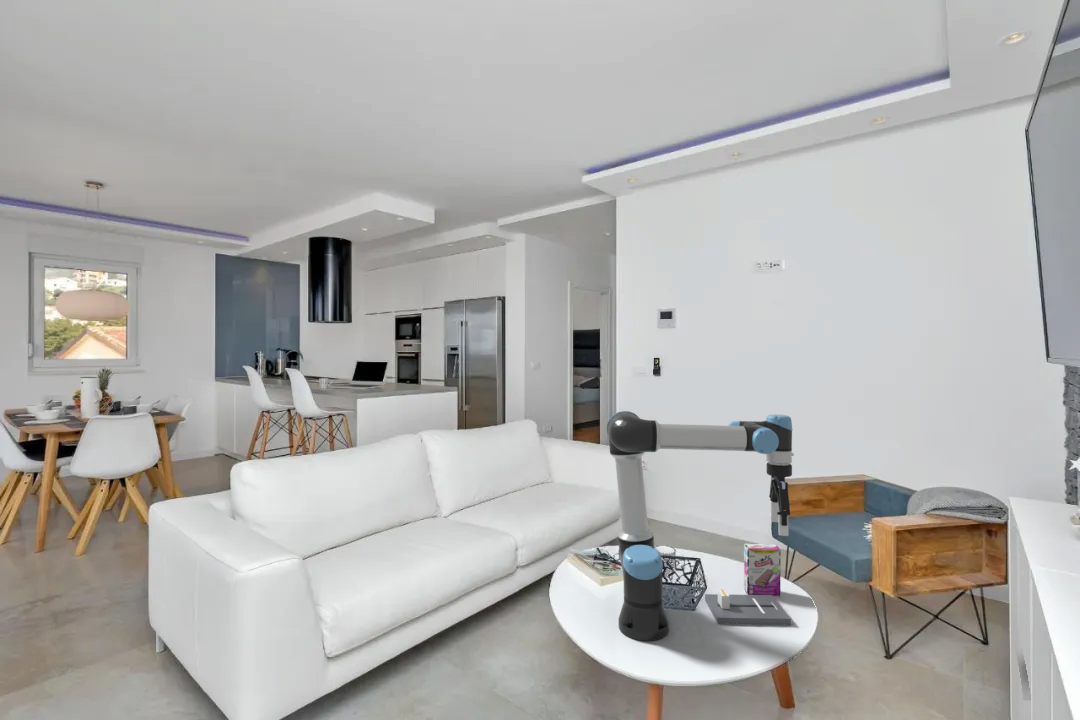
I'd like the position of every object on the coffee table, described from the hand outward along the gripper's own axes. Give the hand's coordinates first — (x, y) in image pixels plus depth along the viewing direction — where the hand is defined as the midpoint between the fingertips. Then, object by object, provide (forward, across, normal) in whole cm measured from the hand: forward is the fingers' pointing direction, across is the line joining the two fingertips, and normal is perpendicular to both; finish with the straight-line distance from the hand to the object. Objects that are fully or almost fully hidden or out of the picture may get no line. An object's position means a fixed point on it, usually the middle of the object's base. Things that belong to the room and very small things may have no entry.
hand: (779, 528), depth 172 cm
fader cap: (+24, -5, +18) cm, 31 cm away
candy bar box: (+27, +12, +3) cm, 29 cm away
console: (+26, -4, +11) cm, 29 cm away
